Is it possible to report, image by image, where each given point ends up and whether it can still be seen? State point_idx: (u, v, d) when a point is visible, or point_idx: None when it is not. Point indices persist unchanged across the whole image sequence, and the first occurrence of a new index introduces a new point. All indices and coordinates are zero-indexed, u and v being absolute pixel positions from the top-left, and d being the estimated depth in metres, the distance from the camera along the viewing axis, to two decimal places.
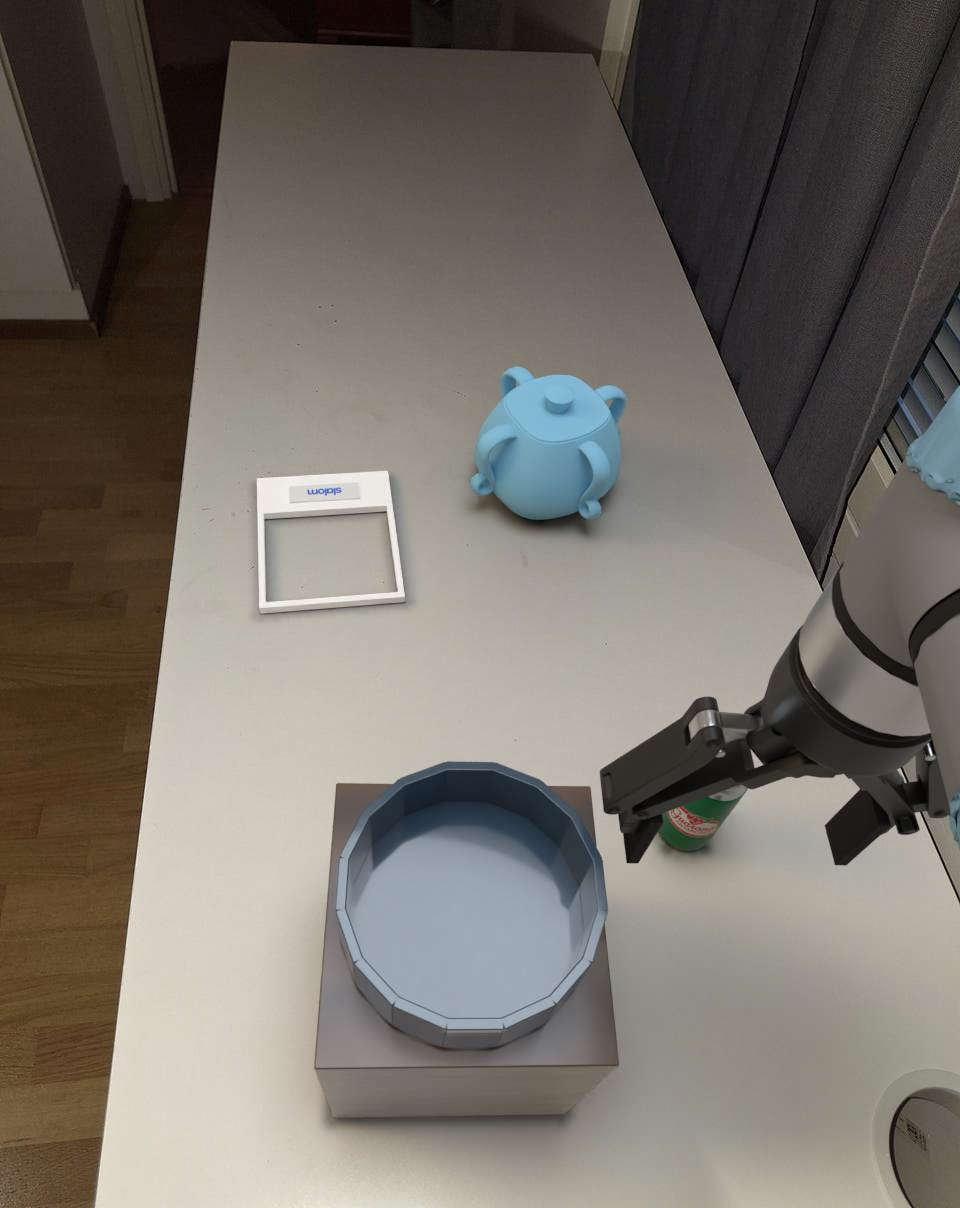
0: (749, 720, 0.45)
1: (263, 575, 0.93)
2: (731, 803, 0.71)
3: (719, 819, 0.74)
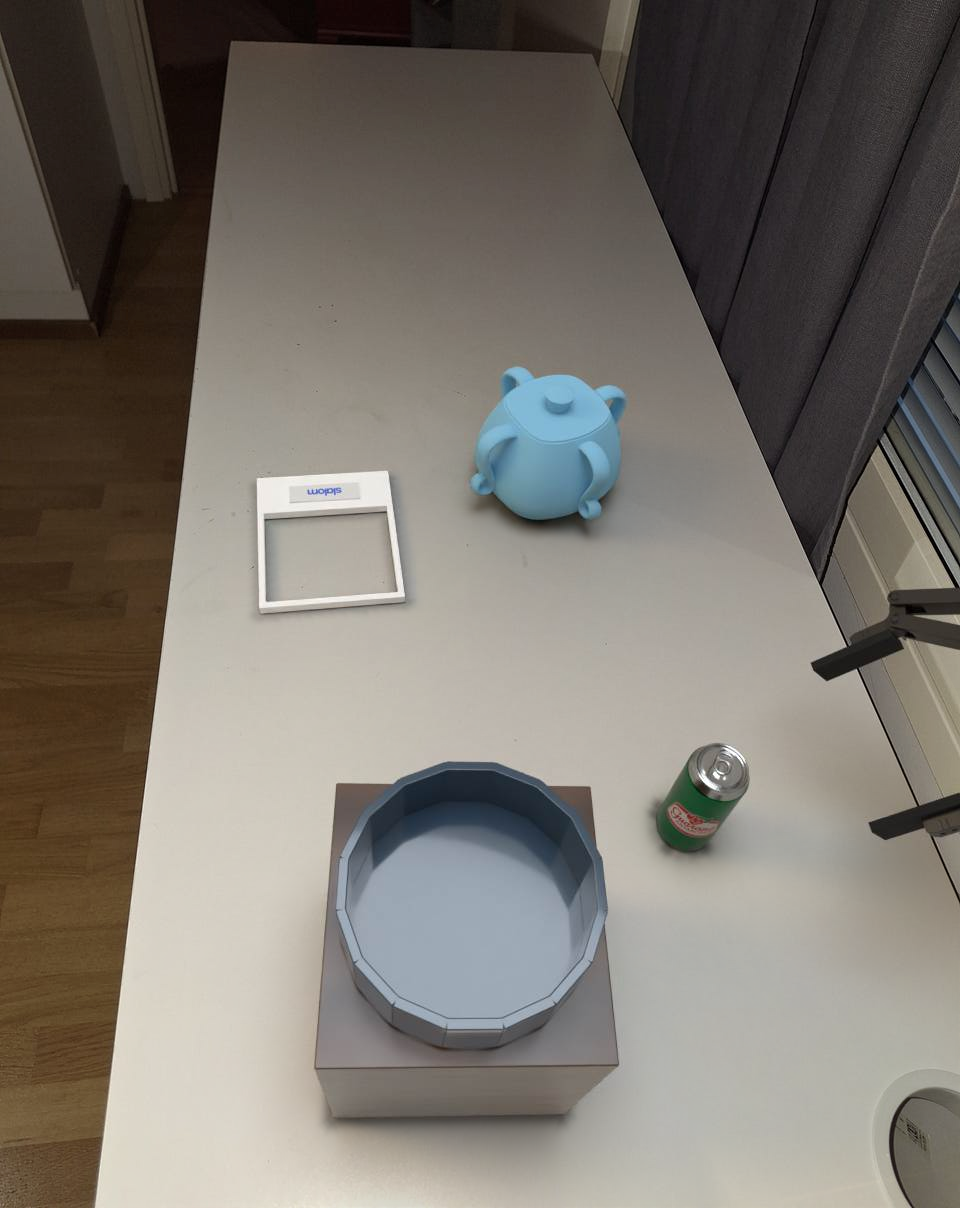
0: None
1: (263, 575, 0.93)
2: (731, 803, 0.71)
3: (719, 819, 0.74)
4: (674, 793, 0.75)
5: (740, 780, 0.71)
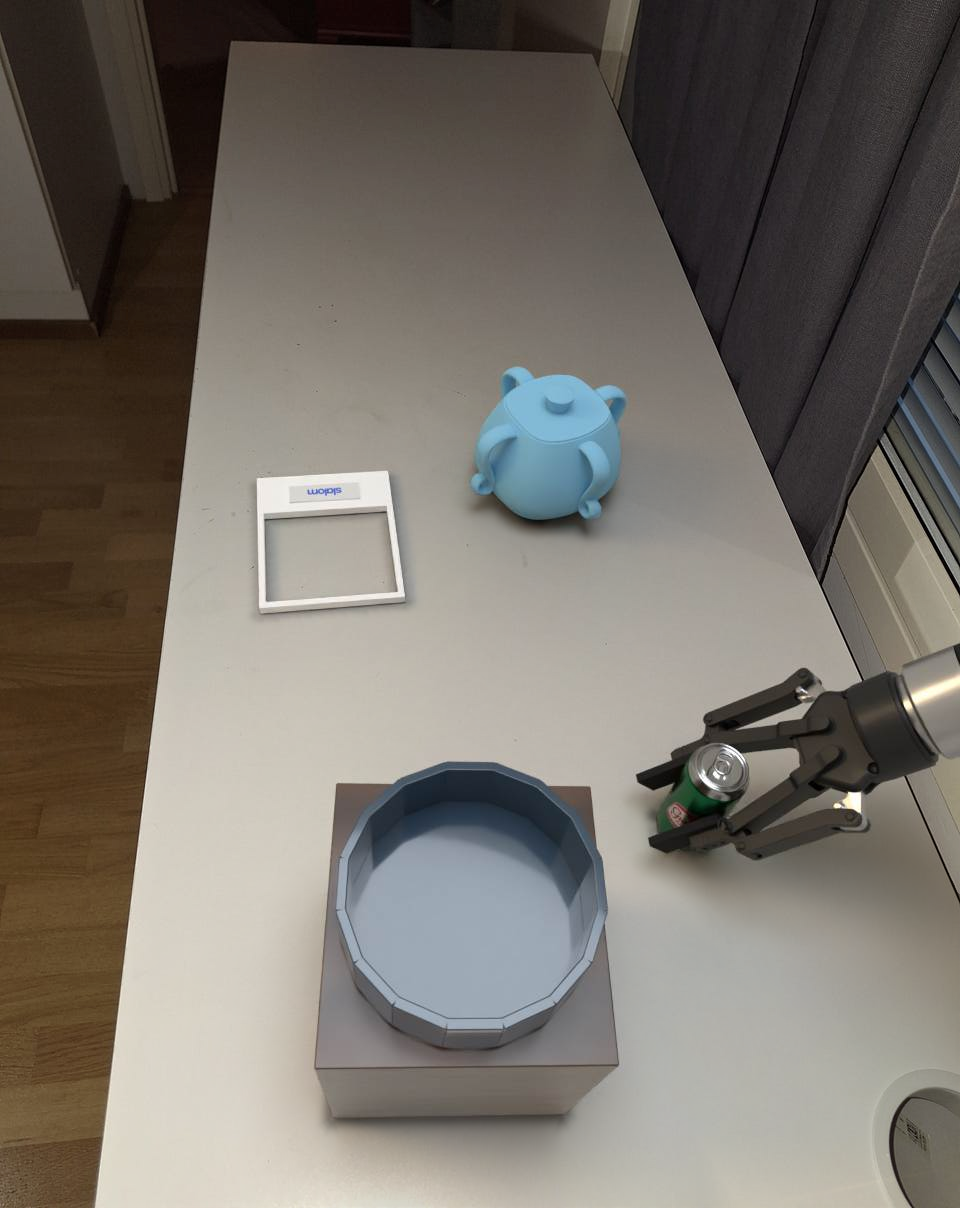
0: None
1: (263, 575, 0.93)
2: (731, 803, 0.71)
3: None
4: (674, 793, 0.75)
5: (740, 780, 0.71)
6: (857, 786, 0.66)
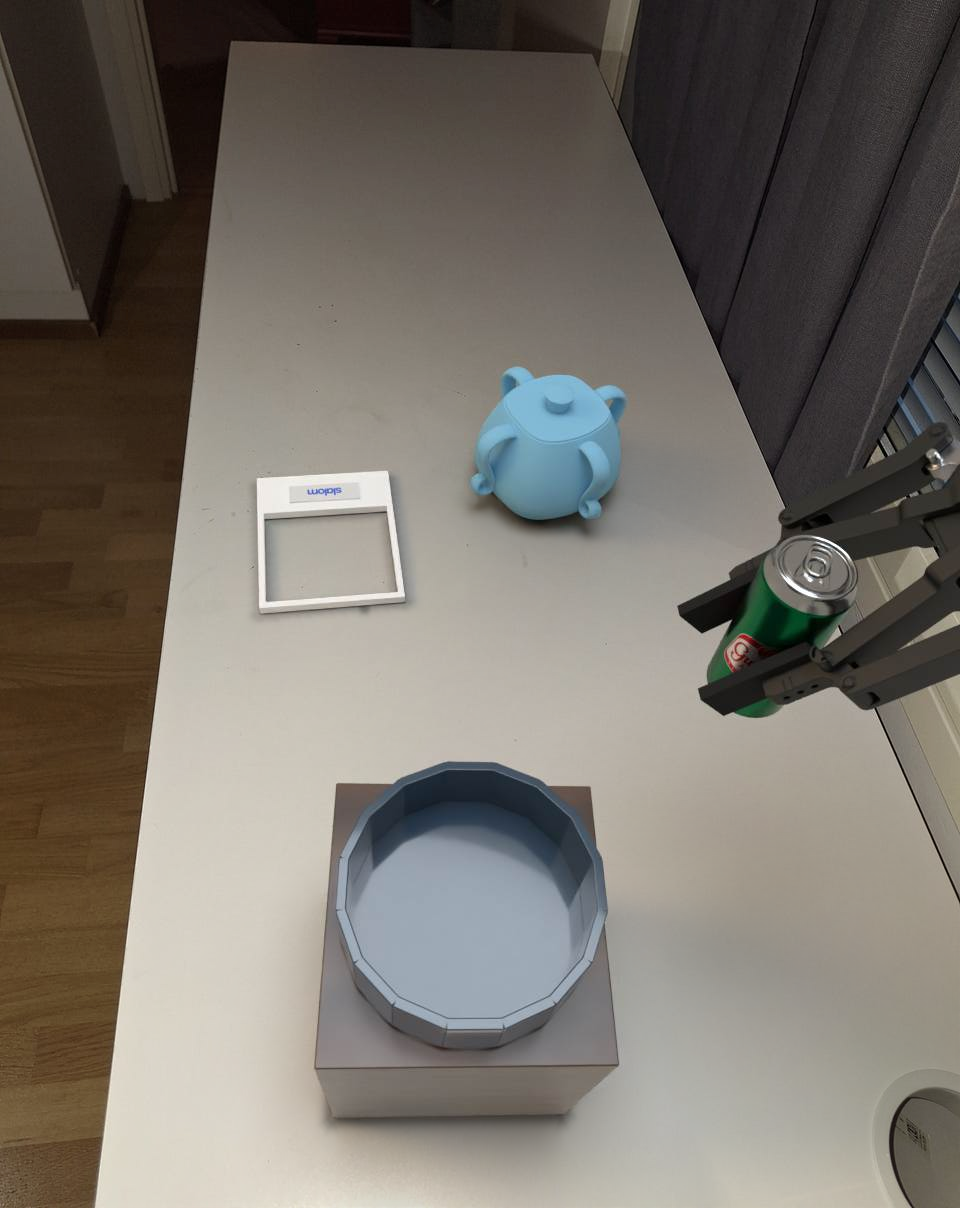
0: None
1: (263, 575, 0.93)
2: (831, 621, 0.46)
3: None
4: (738, 621, 0.50)
5: (846, 585, 0.46)
6: None
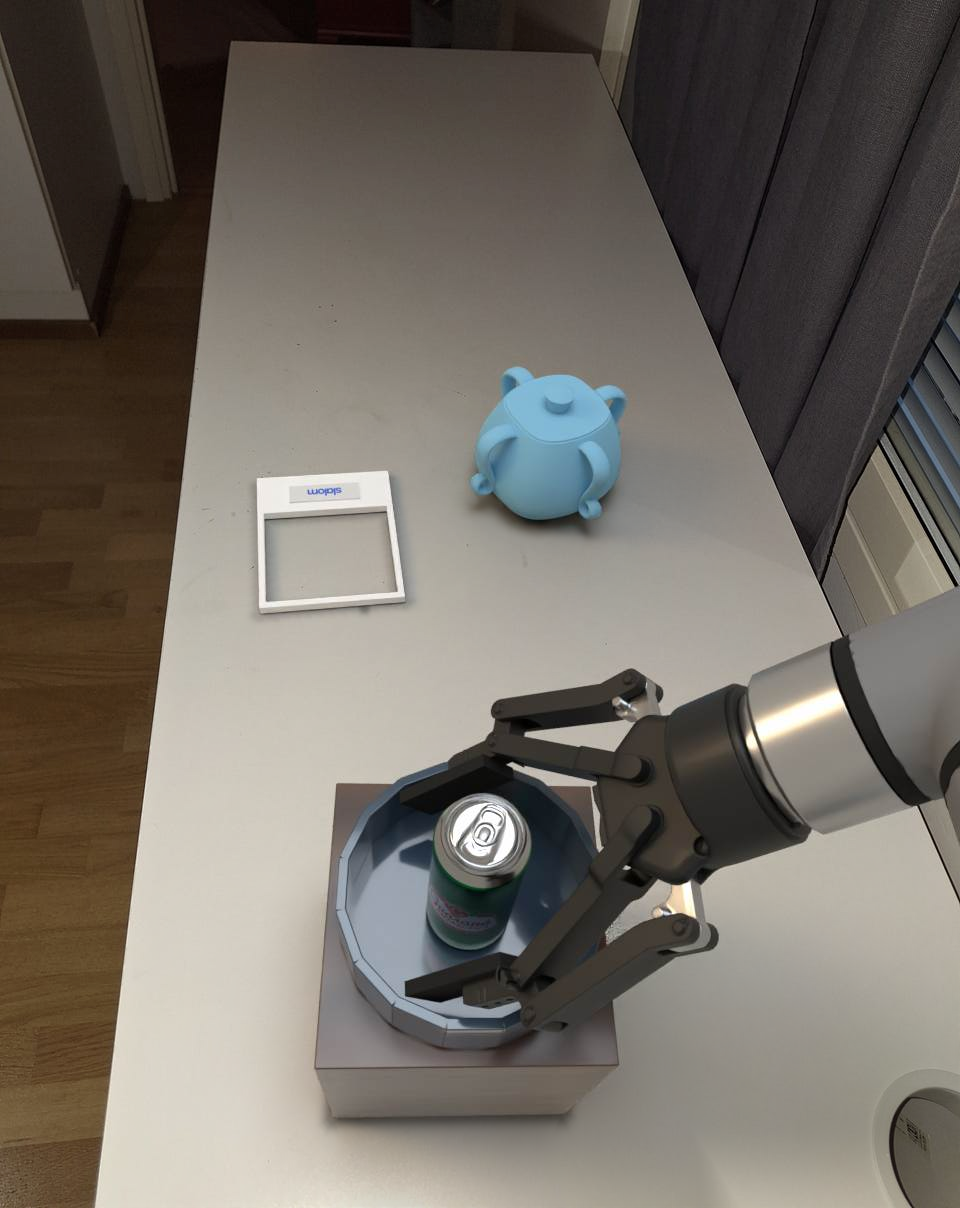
0: None
1: (263, 575, 0.93)
2: (498, 891, 0.45)
3: (491, 911, 0.47)
4: None
5: (512, 854, 0.45)
6: (677, 875, 0.40)
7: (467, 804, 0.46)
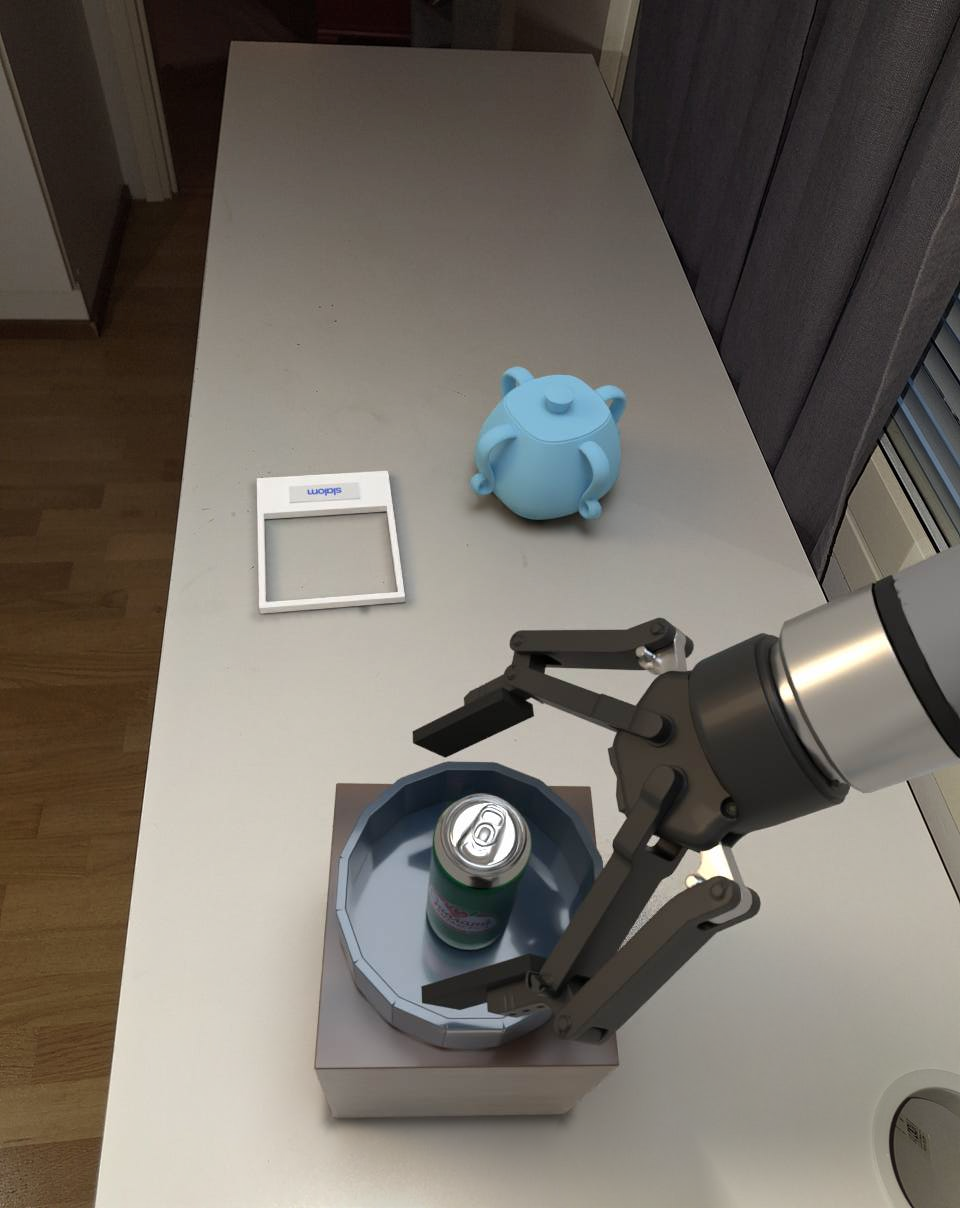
0: None
1: (263, 575, 0.93)
2: (498, 891, 0.45)
3: (491, 911, 0.47)
4: None
5: (512, 854, 0.45)
6: (702, 840, 0.37)
7: (467, 804, 0.46)
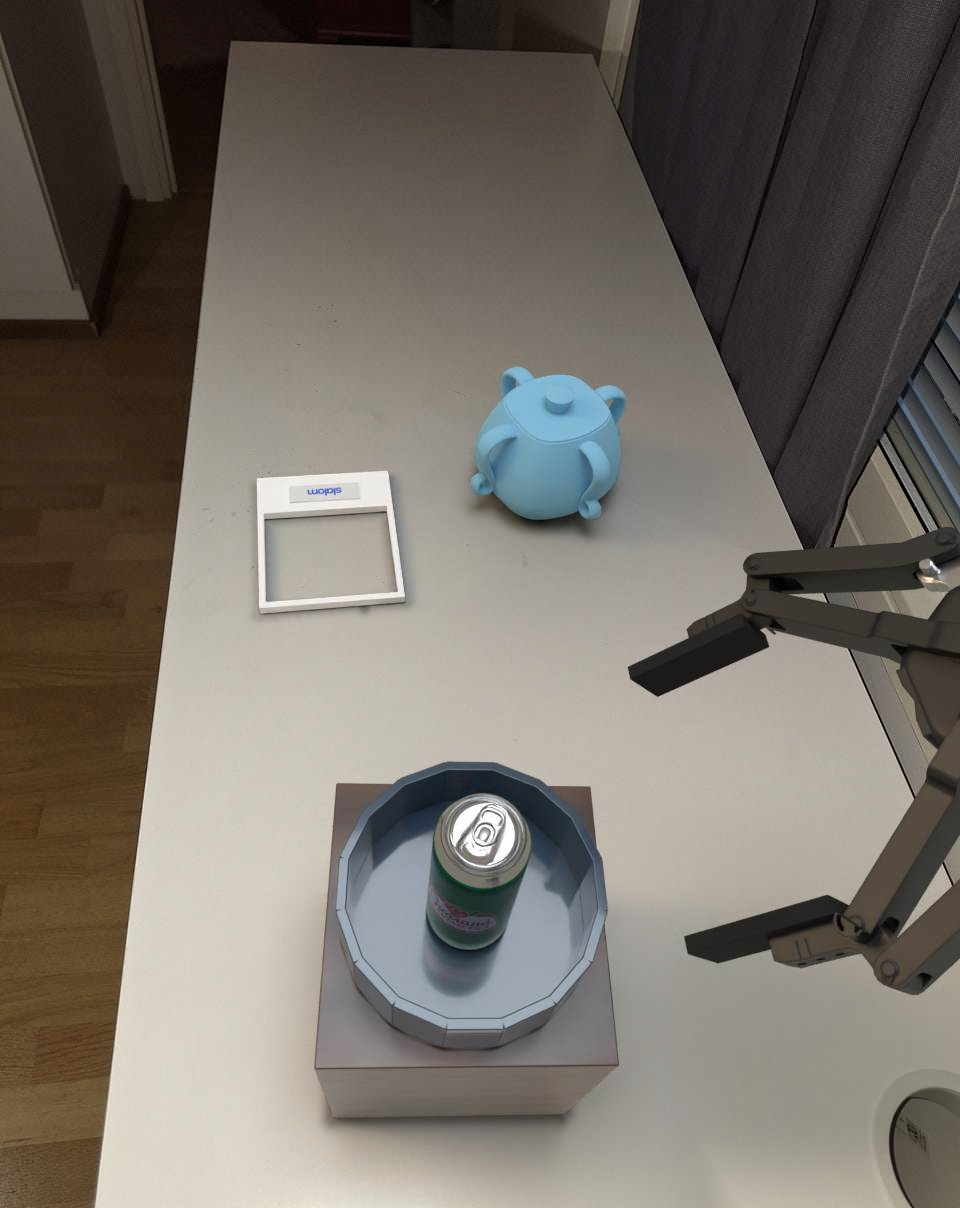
0: None
1: (263, 575, 0.93)
2: (498, 891, 0.45)
3: (491, 911, 0.47)
4: None
5: (512, 854, 0.45)
6: None
7: (467, 804, 0.46)
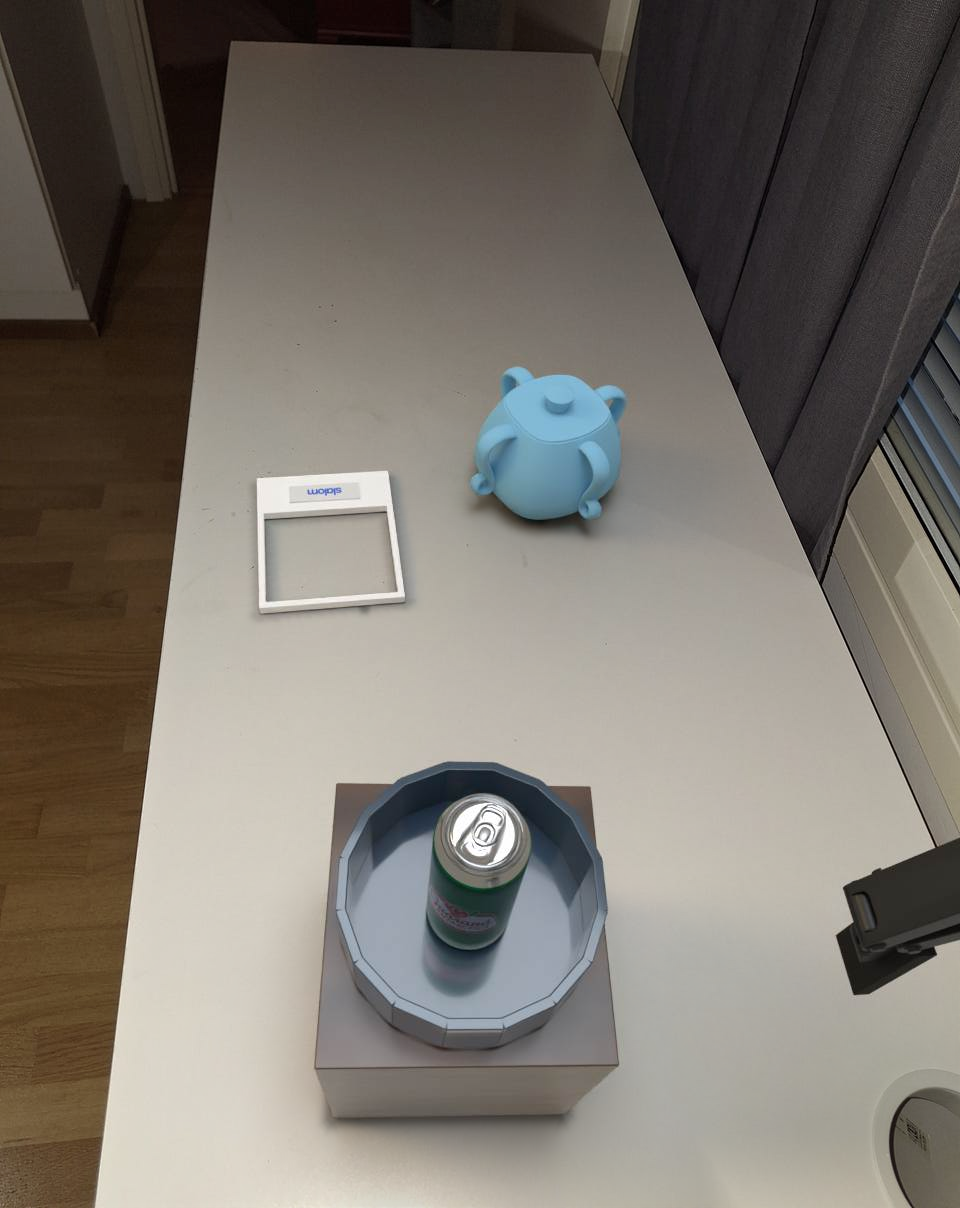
0: None
1: (263, 575, 0.93)
2: (498, 891, 0.45)
3: (491, 911, 0.47)
4: None
5: (512, 854, 0.45)
6: None
7: (467, 804, 0.46)
